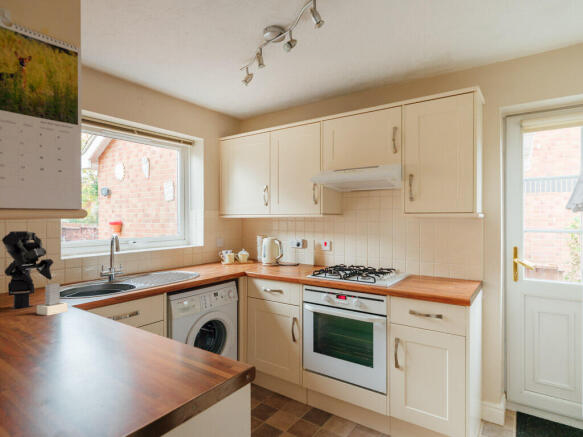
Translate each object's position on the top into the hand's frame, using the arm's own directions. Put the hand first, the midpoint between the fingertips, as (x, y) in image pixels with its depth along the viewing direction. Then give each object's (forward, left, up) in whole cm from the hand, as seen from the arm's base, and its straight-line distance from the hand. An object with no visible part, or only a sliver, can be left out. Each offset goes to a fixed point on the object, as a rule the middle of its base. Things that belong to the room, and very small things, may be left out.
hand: (41, 280), depth 146 cm
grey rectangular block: (+6, +1, -13) cm, 15 cm away
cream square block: (+6, +1, -13) cm, 15 cm away
